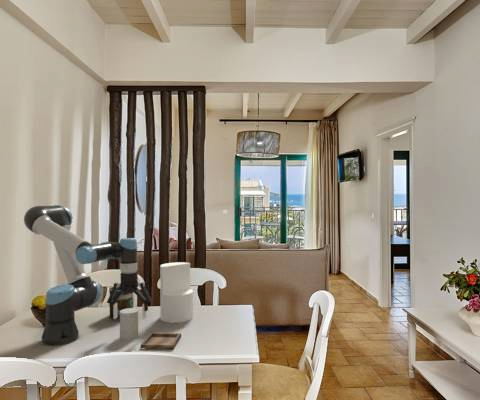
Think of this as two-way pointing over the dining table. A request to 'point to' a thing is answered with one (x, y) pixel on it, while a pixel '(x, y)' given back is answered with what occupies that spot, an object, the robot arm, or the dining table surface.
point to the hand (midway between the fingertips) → (129, 318)
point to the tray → (161, 341)
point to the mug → (121, 302)
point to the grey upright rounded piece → (129, 324)
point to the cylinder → (175, 292)
